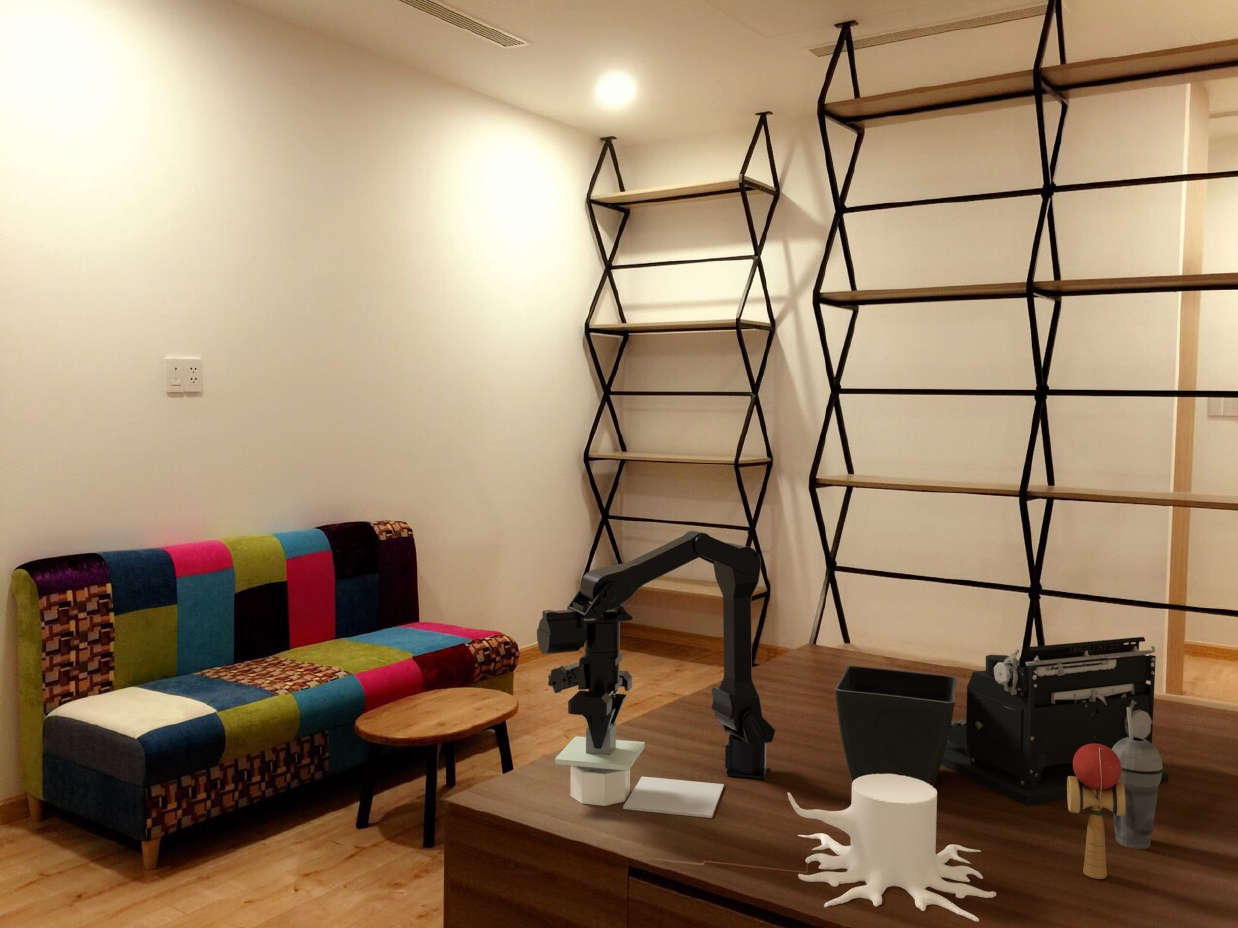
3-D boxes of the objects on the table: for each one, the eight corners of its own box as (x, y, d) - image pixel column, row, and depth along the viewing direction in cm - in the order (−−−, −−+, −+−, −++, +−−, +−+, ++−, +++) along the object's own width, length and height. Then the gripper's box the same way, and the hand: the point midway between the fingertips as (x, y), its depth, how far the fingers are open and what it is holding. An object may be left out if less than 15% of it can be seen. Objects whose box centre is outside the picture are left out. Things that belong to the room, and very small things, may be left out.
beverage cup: (1168, 855, 144) (1172, 716, 144) (1112, 850, 146) (1117, 712, 145) (1151, 835, 152) (1156, 702, 151) (1099, 830, 153) (1103, 699, 152)
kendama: (1056, 875, 138) (1060, 743, 137) (1068, 859, 143) (1072, 733, 142) (1118, 891, 133) (1123, 756, 132) (1128, 875, 138) (1133, 744, 137)
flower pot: (954, 767, 181) (956, 673, 180) (952, 805, 163) (954, 701, 162) (845, 754, 187) (847, 664, 186) (832, 789, 169) (834, 689, 168)
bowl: (633, 787, 169) (633, 757, 168) (620, 807, 160) (621, 776, 160) (580, 782, 171) (581, 752, 171) (565, 801, 162) (565, 770, 162)
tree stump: (783, 903, 129) (785, 815, 129) (788, 819, 157) (789, 746, 156) (1012, 926, 124) (1015, 834, 124) (975, 835, 152) (977, 759, 151)
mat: (723, 786, 170) (723, 784, 170) (711, 817, 156) (711, 815, 156) (641, 778, 173) (641, 776, 173) (623, 808, 159) (623, 806, 159)
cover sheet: (644, 746, 170) (645, 718, 169) (628, 770, 158) (629, 740, 158) (575, 740, 172) (575, 712, 172) (554, 763, 161) (554, 733, 160)
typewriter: (1046, 738, 199) (1050, 611, 198) (1168, 784, 174) (1173, 639, 173) (917, 756, 187) (920, 621, 186) (1027, 808, 162) (1031, 653, 161)
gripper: (570, 634, 175) (569, 723, 176) (536, 658, 157) (535, 758, 158) (633, 638, 173) (632, 728, 173) (606, 663, 155) (605, 764, 155)
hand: (601, 744), depth 165 cm, fingers closed on cover sheet, 4 cm apart
